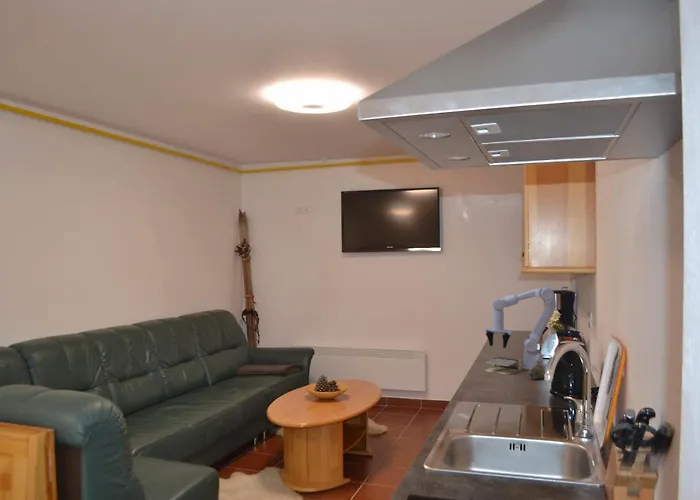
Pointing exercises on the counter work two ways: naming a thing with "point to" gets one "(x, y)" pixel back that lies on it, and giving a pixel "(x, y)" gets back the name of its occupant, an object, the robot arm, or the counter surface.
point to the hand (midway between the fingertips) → (498, 346)
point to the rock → (537, 371)
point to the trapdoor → (505, 361)
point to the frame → (505, 370)
